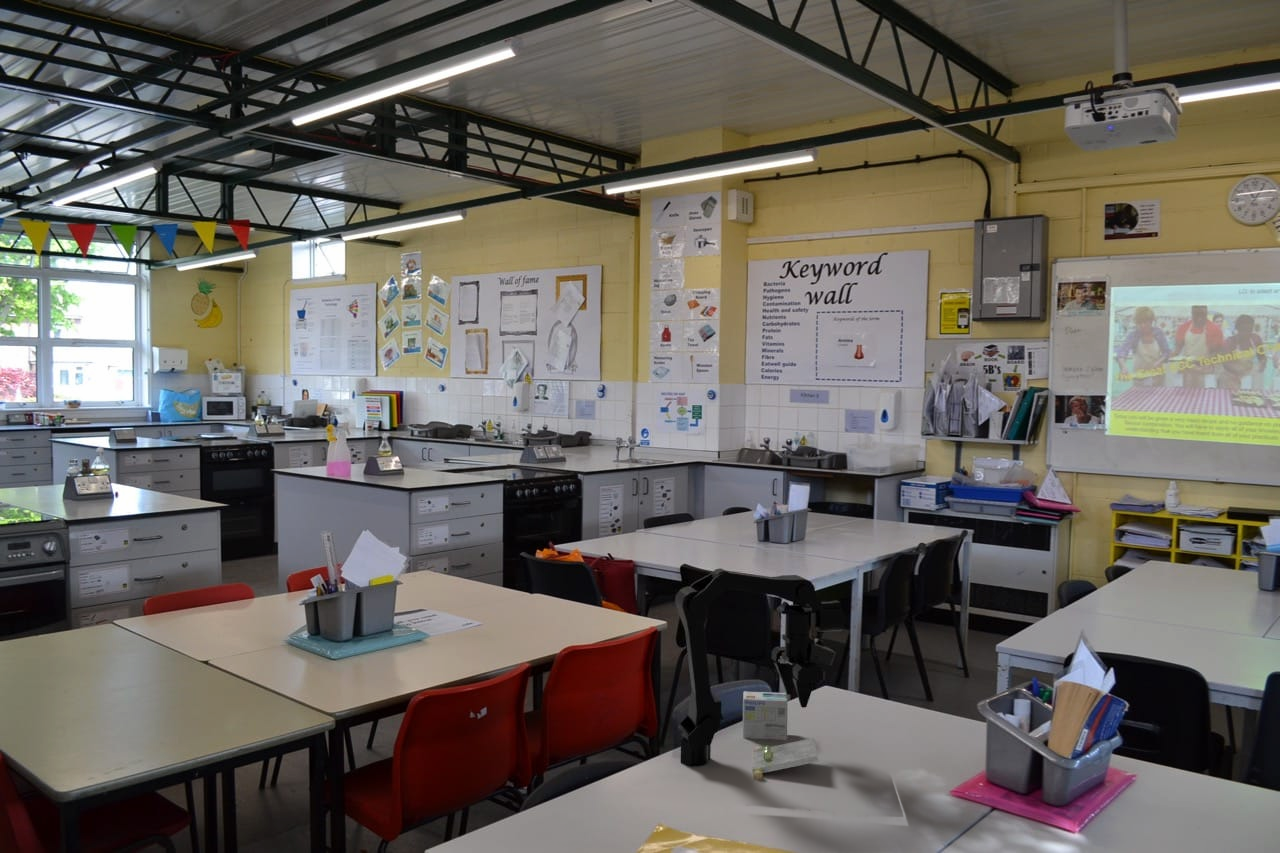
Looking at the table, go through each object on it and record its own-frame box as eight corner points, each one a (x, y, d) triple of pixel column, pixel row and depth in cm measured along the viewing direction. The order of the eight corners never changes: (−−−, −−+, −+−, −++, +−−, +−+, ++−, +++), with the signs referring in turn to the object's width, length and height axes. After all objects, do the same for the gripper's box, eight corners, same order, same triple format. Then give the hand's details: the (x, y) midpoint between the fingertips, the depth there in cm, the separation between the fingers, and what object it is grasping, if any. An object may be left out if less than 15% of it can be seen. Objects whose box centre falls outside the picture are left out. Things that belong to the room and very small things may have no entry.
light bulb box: (786, 735, 222) (786, 691, 222) (788, 745, 215) (788, 700, 215) (742, 733, 223) (742, 690, 223) (742, 743, 216) (743, 698, 216)
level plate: (753, 775, 194) (750, 762, 194) (754, 755, 205) (751, 743, 205) (818, 761, 192) (814, 748, 192) (815, 742, 203) (812, 730, 203)
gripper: (848, 641, 198) (846, 712, 199) (816, 621, 217) (814, 687, 217) (799, 643, 196) (798, 714, 197) (771, 623, 215) (770, 688, 215)
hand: (796, 700), depth 206 cm, fingers open, 9 cm apart
